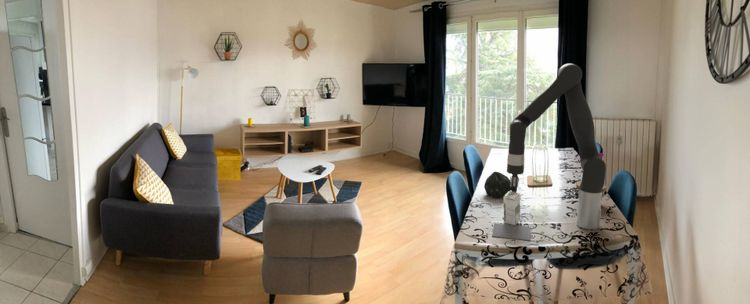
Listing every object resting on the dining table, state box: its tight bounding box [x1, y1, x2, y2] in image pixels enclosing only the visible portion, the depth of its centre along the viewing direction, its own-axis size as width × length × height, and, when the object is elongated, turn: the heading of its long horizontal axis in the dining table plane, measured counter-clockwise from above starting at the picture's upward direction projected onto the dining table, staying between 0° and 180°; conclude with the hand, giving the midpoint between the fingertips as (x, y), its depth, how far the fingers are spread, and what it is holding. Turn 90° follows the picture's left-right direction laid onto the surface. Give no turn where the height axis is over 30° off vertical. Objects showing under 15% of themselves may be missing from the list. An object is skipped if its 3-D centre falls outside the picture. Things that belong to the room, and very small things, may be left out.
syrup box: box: [503, 191, 521, 225], centre depth 218 cm, size 6×6×14 cm
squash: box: [483, 171, 512, 199], centre depth 257 cm, size 14×15×15 cm
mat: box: [491, 223, 531, 242], centre depth 210 cm, size 16×15×1 cm
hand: (513, 198), depth 221 cm, fingers closed
